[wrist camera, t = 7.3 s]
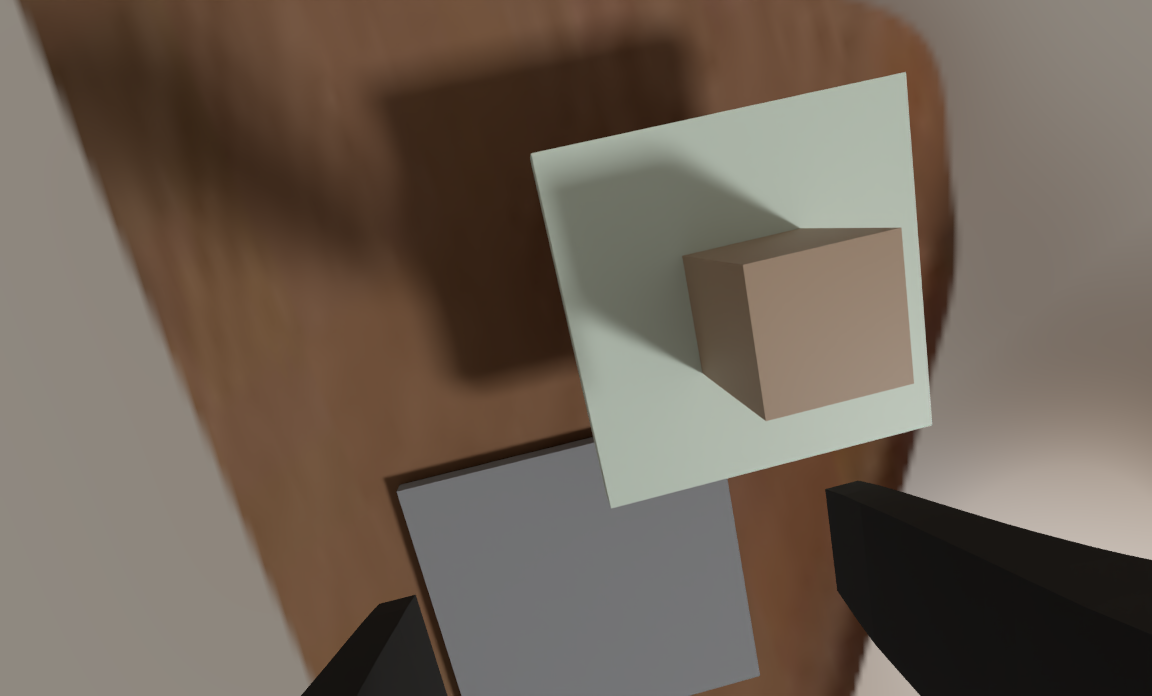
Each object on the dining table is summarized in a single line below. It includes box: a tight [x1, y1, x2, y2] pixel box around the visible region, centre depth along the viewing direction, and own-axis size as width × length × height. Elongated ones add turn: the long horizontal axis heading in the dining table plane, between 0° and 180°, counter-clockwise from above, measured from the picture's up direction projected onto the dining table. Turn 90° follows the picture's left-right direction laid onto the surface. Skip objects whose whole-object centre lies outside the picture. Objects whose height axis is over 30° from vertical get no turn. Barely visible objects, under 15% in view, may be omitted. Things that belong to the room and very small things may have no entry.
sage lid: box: [530, 72, 932, 508], centre depth 12 cm, size 9×9×4 cm
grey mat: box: [397, 437, 760, 696], centre depth 20 cm, size 11×11×1 cm
